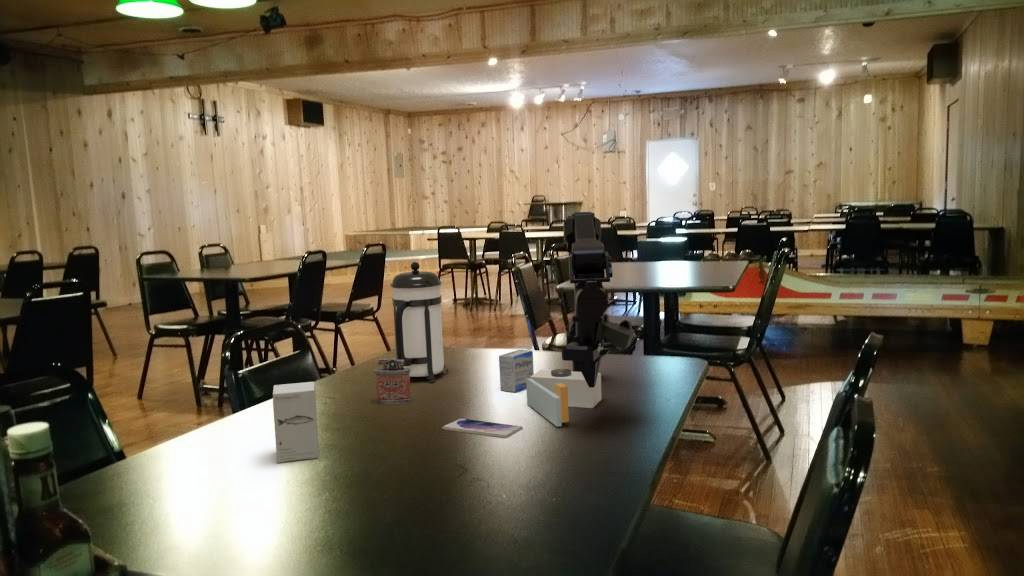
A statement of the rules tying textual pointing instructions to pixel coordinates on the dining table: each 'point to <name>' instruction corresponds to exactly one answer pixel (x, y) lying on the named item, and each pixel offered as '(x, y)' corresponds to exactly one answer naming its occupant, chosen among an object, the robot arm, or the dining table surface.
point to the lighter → (393, 382)
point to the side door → (549, 401)
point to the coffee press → (418, 322)
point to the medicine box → (515, 370)
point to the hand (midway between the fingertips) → (591, 387)
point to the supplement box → (295, 421)
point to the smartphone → (482, 428)
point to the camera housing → (571, 386)
